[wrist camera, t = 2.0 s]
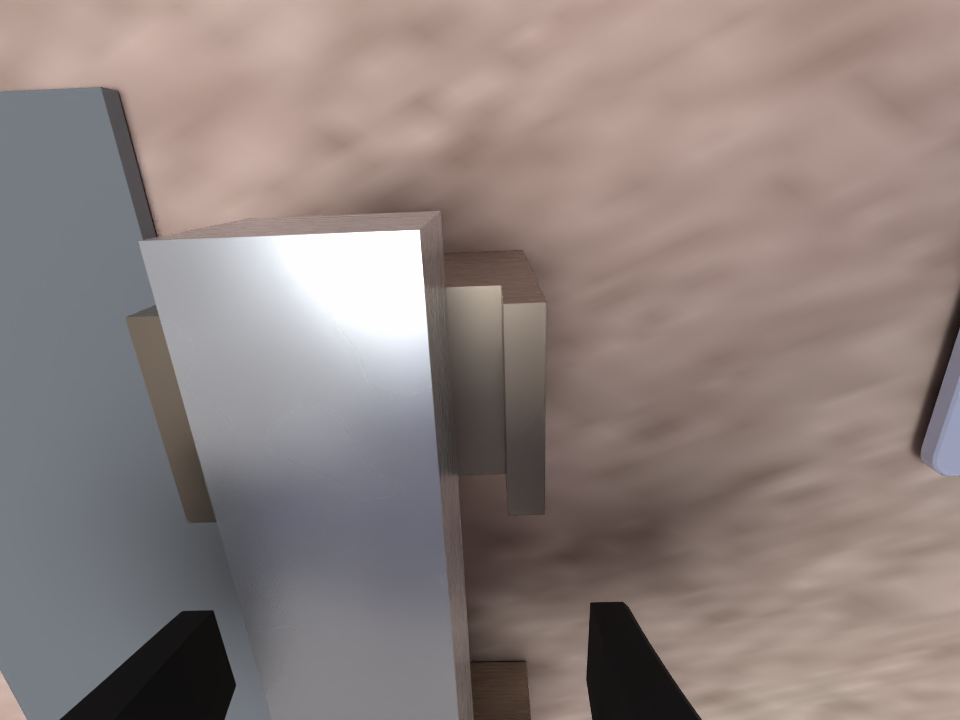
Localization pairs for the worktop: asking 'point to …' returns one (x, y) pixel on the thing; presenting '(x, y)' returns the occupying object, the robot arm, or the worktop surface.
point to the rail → (328, 452)
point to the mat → (87, 421)
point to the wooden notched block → (474, 369)
